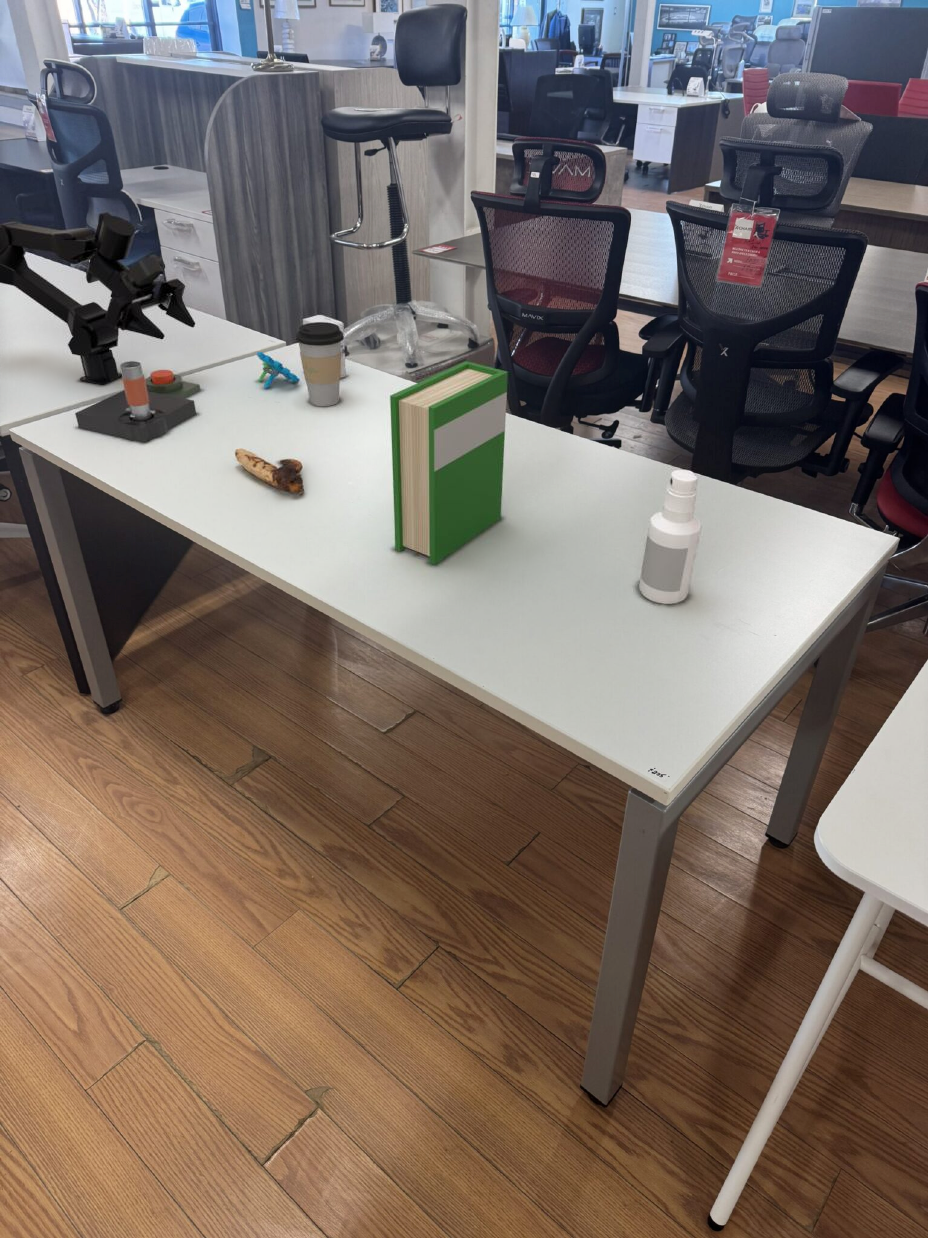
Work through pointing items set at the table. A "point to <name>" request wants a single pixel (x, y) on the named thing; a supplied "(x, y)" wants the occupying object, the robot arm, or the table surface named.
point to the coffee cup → (321, 361)
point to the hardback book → (448, 458)
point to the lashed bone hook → (273, 471)
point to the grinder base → (118, 422)
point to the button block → (173, 387)
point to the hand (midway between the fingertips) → (179, 331)
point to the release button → (162, 376)
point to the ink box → (341, 326)
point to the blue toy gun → (274, 370)
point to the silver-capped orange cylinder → (136, 391)
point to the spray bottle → (672, 543)
